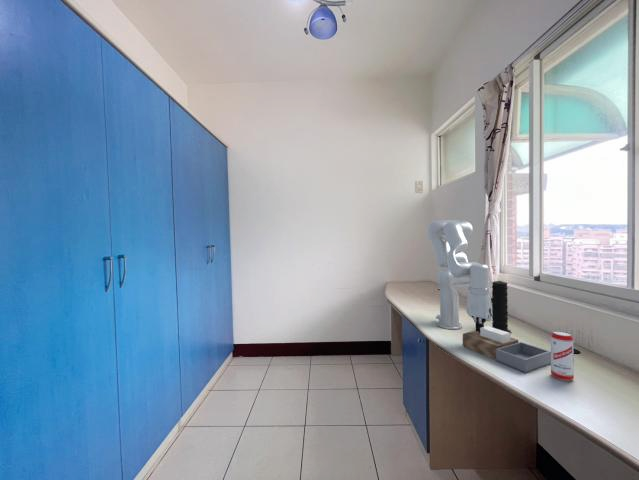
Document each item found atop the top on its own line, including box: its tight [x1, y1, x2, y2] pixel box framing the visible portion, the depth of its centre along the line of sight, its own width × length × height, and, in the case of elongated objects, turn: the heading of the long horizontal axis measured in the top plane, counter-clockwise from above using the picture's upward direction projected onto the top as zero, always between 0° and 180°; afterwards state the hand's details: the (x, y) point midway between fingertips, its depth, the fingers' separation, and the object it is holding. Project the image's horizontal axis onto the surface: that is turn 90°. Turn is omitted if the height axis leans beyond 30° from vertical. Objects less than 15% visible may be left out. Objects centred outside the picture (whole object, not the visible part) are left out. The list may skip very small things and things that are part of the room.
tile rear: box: [480, 325, 498, 339], centre depth 126 cm, size 5×5×4 cm
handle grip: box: [491, 280, 512, 335], centre depth 149 cm, size 10×26×10 cm
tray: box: [495, 341, 551, 374], centre depth 114 cm, size 11×16×5 cm
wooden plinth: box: [462, 330, 519, 361], centre depth 126 cm, size 16×14×6 cm
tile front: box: [491, 329, 511, 343], centre depth 122 cm, size 5×5×4 cm
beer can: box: [550, 330, 575, 382], centre depth 102 cm, size 6×6×16 cm
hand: (479, 331), depth 130 cm, fingers closed
